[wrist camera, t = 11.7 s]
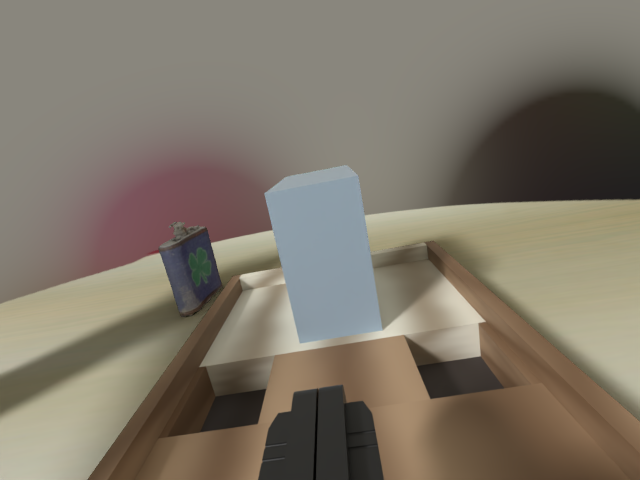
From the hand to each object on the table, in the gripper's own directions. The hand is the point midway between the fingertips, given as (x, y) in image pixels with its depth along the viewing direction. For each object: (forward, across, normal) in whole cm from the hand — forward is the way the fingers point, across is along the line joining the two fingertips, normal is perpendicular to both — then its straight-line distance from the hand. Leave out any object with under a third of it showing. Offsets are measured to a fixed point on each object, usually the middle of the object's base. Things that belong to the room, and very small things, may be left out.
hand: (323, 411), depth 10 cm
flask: (+32, +18, +9) cm, 38 cm away
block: (+19, 0, +5) cm, 20 cm away
